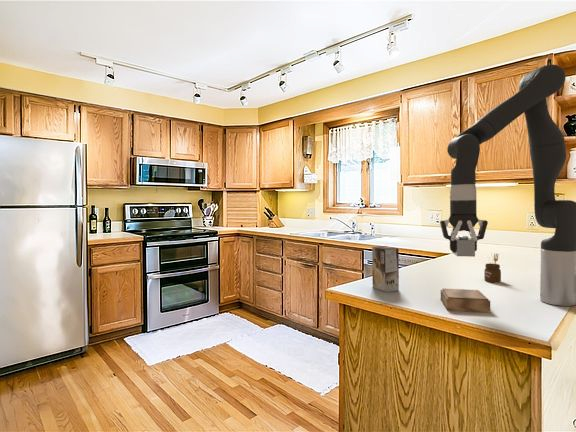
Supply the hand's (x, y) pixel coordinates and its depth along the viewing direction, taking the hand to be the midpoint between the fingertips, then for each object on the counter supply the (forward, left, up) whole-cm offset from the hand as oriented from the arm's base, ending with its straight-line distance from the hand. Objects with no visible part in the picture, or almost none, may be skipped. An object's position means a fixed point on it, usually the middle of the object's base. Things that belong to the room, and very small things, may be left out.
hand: (463, 252), depth 113 cm
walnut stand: (0, +1, -17) cm, 17 cm away
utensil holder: (-19, -38, -17) cm, 46 cm away
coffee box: (+24, -18, -17) cm, 34 cm away
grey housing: (0, 0, -1) cm, 1 cm away
